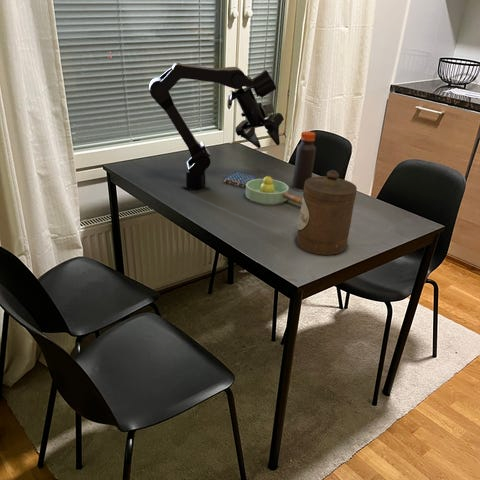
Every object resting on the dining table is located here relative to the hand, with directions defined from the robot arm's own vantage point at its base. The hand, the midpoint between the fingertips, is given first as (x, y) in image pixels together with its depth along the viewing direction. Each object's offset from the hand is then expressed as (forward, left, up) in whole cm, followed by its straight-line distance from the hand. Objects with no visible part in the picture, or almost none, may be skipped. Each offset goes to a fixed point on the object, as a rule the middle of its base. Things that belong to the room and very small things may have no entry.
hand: (269, 146), depth 173 cm
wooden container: (-23, -41, -16) cm, 49 cm away
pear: (-7, -6, -15) cm, 17 cm away
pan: (-7, -6, -15) cm, 18 cm away
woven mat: (-3, +10, -16) cm, 19 cm away
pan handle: (-7, -20, -13) cm, 25 cm away
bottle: (+11, -8, -16) cm, 21 cm away
